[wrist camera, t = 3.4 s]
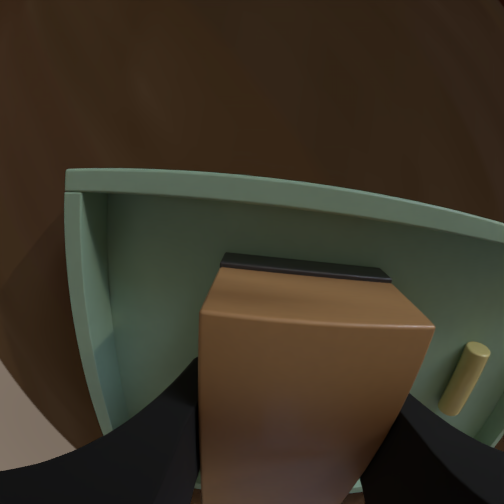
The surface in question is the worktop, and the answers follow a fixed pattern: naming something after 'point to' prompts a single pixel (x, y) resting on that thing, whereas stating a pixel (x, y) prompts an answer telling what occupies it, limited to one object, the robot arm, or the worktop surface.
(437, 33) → the worktop surface
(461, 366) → the chalk stub
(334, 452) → the eraser
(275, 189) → the tray
